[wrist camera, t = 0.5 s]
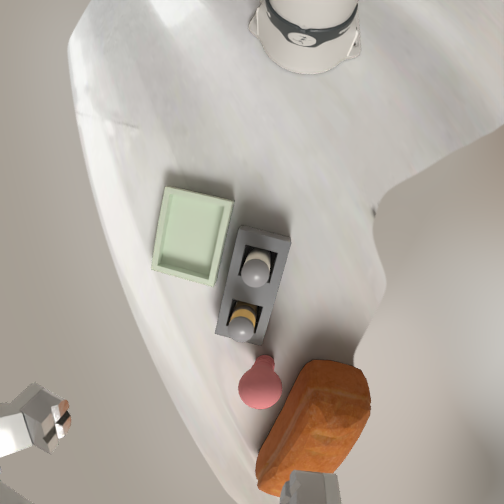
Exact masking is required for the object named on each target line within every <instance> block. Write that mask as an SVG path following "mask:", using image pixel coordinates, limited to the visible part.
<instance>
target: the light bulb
mask: <svg viewBox="0 0 504 504" xmlns="http://www.w3.org/2000/svg"><path fill="white" fill-rule="evenodd" d="M274 365H275V363H274V360H273V358H272V357H270V356H268V355H262V356H259V357H258V358H257V359H256V361H255V363H254V365H253V366H252V368H251V369H250V370H248V371H247V372H246V373H245V374H244V375H243V376H242V377H241V379H240V382H239V386H238V391H239V395H240V397H241V399H242V400H243V402H244V403H245V404H246V405H248V406H250V407H252V408H255V409H265V408H269V407H271V406H272V405H274V404H275V403H276V402H277V401H278V400H279V398H280V396H281V393H282V383H281V380H280V378H279V376H278V375H277V374H276V373H275V372H274Z"/></svg>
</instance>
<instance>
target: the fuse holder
mask: <svg viewBox="0 0 504 504" xmlns="http://www.w3.org/2000/svg"><path fill="white" fill-rule="evenodd" d="M246 245H250V246H253V247H257V248H261V249H265V250H269V251H273V252H277V253H276V257H275V261H274V264H273V268H272V272H271V275H269V279H268V281H267V282H266V283H265V284H264V285H263V286H261V287H250V286H248V285H247V284H246V283H245V282H244V281H243V279H242V276H241V271H242V268H241V266H242V262H243V258H244V254H245V249H246ZM290 246H291V238H290V237H287V236H283V235H279V234H275V233H271V232H267V231H263V230H260V229H256V228H252V227H248V226H244V225H241V227H240V228H239V230H238V234H237V238H236V243H235V247H234V251H233V255H232V260H231V264H230V268H229V273H228V277H227V281H226V286H225V290H224V294H223V299H222V303H221V308H220V312H219V317H218V321H217V326H216V330H215V334H217V335H221V336H225V337H229V338H231V337H230V336H229V334H228V326H229V323H230V320H231V316H230V311H231V307H232V303H233V299H235V300H239V301H242V302H246V303H250V304H254V305H258V306H262V308H261V311H260V315H259V318H258V322H257V323H256V322H255V327H254V332H253V336H252V337H251V339H249V340H248V341H245V342H248V343H252V344H256V345H260V346H262V342H263V339H264V336H265V332H266V329H267V326H268V322H269V319H270V316H271V312H272V309H273V305H274V302H275V299H276V295H277V292H278V288H279V285H280V281H281V278H282V274H283V271H284V267H285V264H286V260H287V256H288V253H289V249H290Z"/></svg>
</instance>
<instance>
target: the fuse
mask: <svg viewBox="0 0 504 504" xmlns="http://www.w3.org/2000/svg"><path fill="white" fill-rule="evenodd" d="M270 264H271V254H270V252H269V251H268V250H265V249H261V248H257V247H254V248H252V249H251V250H250V251H249V253H248V256H247V258H246V261H245V263H244V266H243V268H242V271H241V276H242V279H243V281H244V282H245V283H246V284H247V285H248V286H250V287H261V286H263V285H264V284H265V283H266V282H267V281H268V279H269V273H270Z"/></svg>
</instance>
